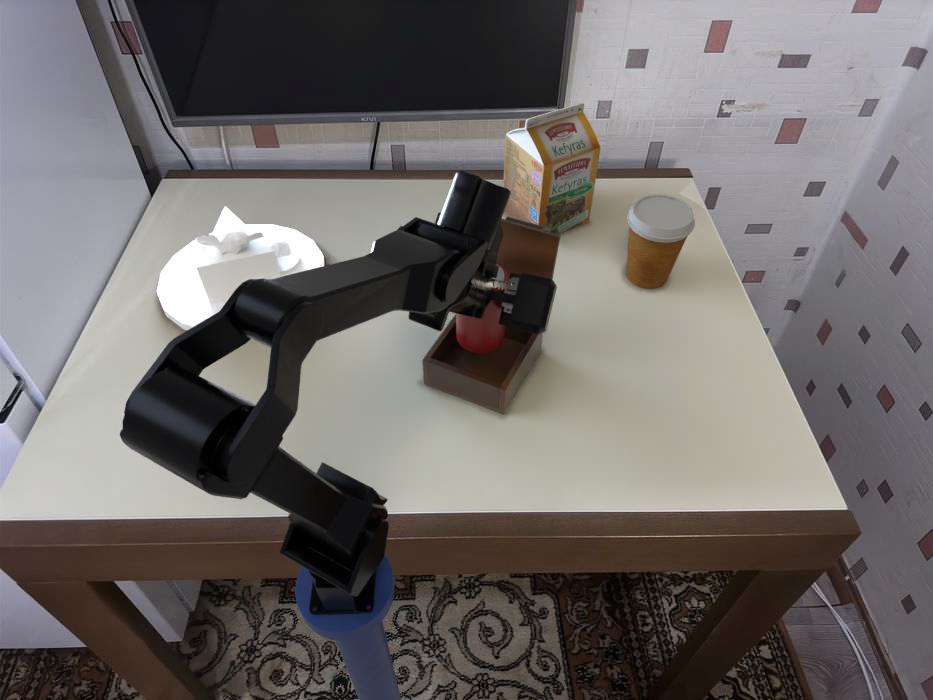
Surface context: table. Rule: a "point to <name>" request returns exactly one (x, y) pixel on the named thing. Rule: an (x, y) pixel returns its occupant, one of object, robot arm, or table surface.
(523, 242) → the chest lid
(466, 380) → the chest
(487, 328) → the can
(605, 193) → the table surface
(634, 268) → the disposable coffee cup
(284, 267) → the dish
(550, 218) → the milk carton
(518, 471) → the table surface
